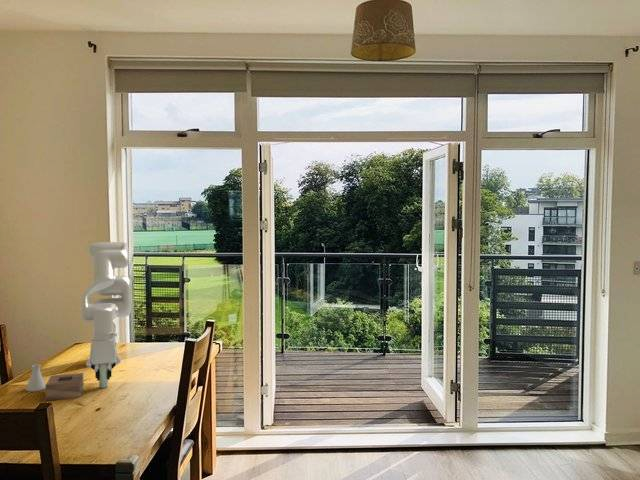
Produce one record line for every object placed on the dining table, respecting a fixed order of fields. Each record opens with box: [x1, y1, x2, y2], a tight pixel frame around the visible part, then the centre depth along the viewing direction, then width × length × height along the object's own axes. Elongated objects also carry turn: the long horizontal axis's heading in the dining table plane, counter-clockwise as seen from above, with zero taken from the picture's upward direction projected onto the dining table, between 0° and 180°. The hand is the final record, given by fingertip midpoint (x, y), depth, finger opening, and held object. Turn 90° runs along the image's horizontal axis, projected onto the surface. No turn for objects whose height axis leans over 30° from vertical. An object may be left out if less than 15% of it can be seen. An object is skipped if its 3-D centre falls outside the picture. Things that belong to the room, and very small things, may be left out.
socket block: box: [45, 372, 84, 401], centre depth 197 cm, size 12×12×6 cm
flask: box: [25, 363, 47, 393], centre depth 201 cm, size 7×7×10 cm
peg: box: [98, 363, 109, 389], centre depth 204 cm, size 3×3×10 cm
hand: (103, 378), depth 205 cm, fingers closed on peg, 3 cm apart
